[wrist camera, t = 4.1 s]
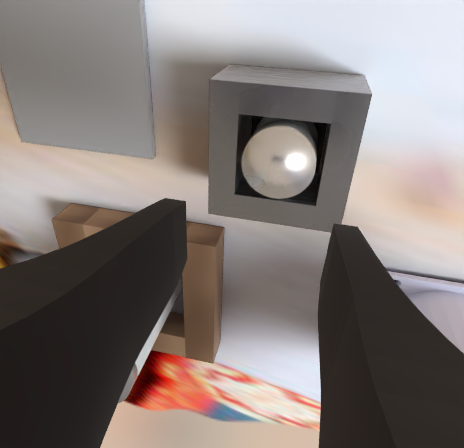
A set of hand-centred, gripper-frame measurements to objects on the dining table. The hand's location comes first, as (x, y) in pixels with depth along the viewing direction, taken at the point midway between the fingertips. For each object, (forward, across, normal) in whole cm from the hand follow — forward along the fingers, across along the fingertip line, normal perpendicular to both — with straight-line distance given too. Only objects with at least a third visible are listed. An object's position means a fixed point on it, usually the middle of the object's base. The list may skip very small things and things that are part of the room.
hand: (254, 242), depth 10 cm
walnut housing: (+9, +8, +11) cm, 17 cm away
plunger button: (+9, 0, 0) cm, 9 cm away
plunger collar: (+9, 0, 0) cm, 9 cm away
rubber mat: (+9, +11, -2) cm, 15 cm away
